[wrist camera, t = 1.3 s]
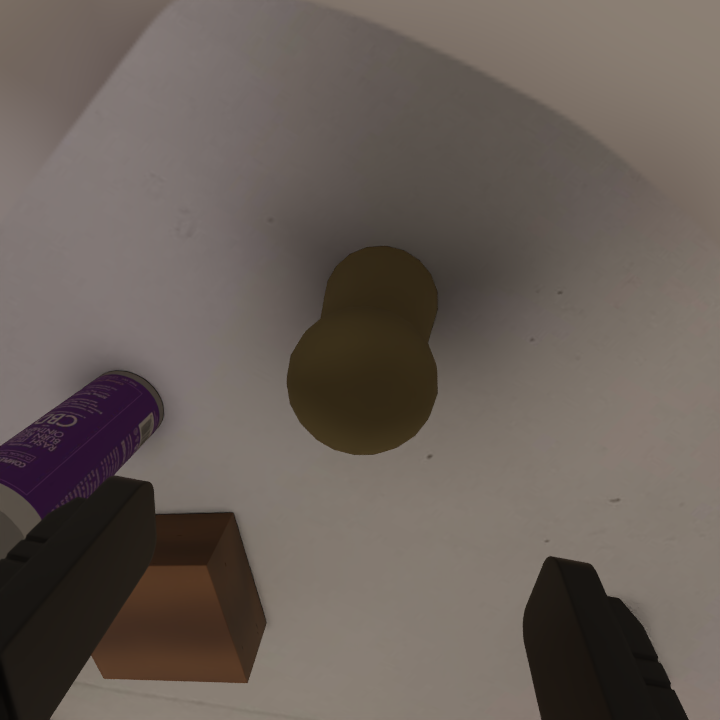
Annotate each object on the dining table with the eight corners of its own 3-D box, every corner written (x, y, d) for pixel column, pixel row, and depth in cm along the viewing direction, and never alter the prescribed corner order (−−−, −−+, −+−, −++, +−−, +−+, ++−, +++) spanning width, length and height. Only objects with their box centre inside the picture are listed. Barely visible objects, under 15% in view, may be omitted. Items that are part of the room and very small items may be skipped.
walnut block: (88, 516, 33) (43, 567, 29) (233, 512, 32) (206, 565, 28) (137, 621, 38) (103, 678, 33) (266, 623, 36) (247, 683, 32)
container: (134, 359, 28) (-141, 560, 14) (178, 422, 29) (-32, 659, 15) (76, 385, 29) (-228, 594, 15) (121, 445, 30) (-119, 682, 17)
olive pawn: (348, 226, 23) (297, 281, 13) (458, 274, 23) (490, 363, 13) (308, 330, 26) (240, 442, 16) (409, 372, 26) (404, 508, 16)
